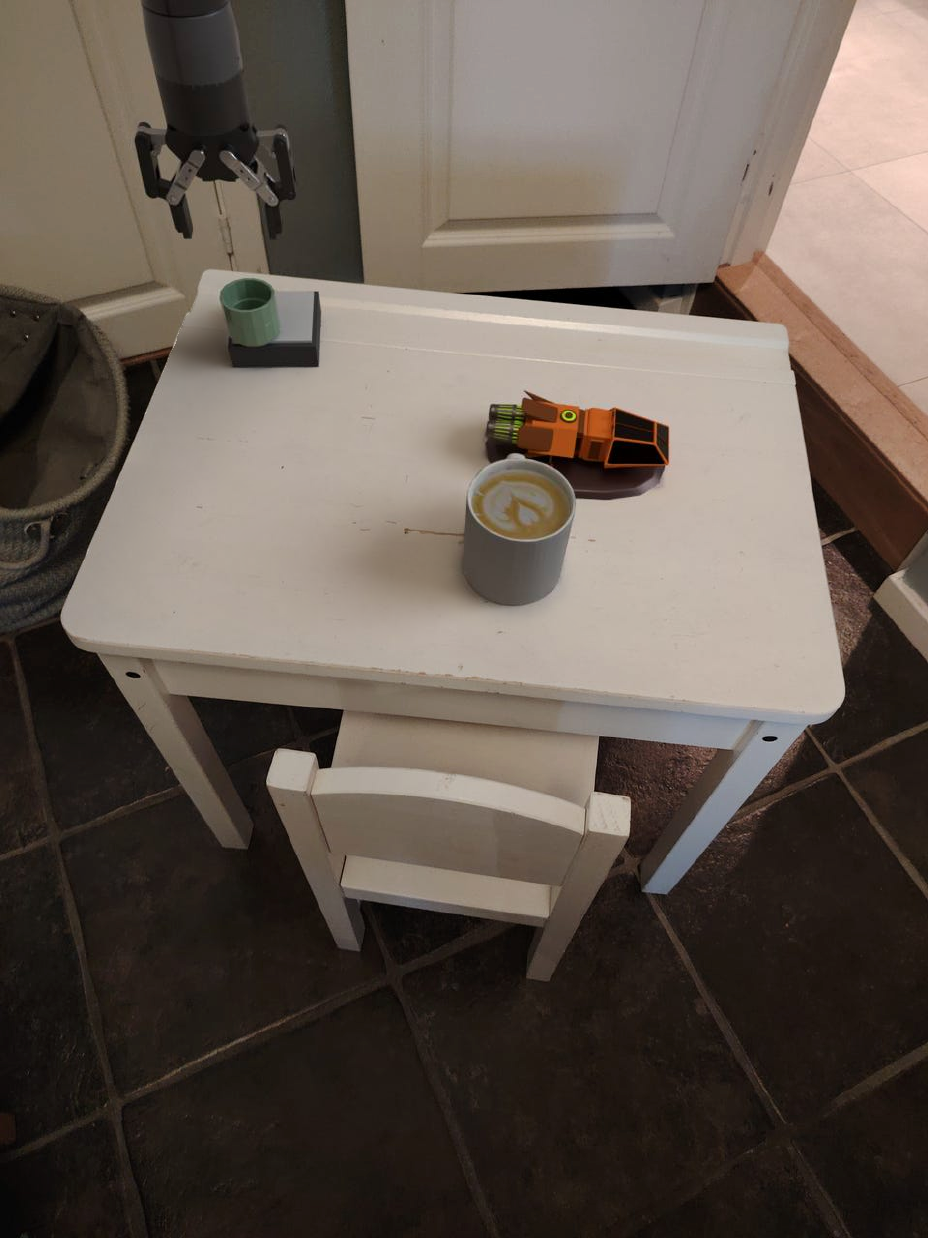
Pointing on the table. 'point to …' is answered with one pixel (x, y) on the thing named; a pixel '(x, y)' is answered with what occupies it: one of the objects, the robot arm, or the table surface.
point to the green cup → (250, 312)
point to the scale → (287, 335)
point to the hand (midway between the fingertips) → (231, 234)
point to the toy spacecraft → (582, 445)
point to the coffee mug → (516, 530)
